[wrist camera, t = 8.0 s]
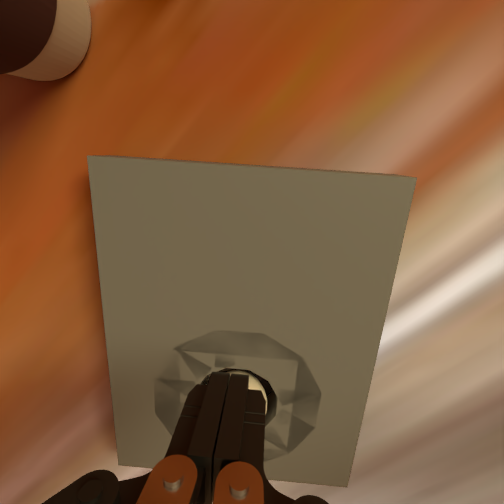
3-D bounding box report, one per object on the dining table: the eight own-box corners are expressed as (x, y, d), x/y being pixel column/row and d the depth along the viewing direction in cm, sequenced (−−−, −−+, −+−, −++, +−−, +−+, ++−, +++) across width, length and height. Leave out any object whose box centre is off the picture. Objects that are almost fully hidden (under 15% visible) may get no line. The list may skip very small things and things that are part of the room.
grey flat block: (396, 174, 21) (417, 177, 18) (339, 454, 29) (347, 487, 26) (111, 155, 21) (87, 155, 19) (132, 435, 29) (118, 465, 27)
